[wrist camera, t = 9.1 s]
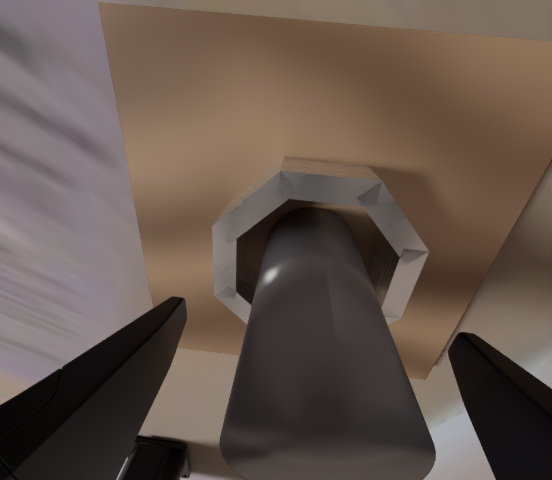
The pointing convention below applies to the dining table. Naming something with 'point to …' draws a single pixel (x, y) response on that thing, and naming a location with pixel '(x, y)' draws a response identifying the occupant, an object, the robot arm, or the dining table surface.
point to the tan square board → (326, 146)
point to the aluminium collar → (328, 189)
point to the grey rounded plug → (321, 368)
